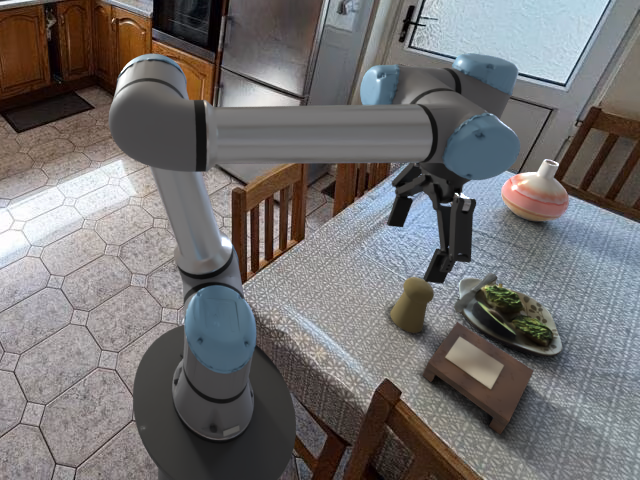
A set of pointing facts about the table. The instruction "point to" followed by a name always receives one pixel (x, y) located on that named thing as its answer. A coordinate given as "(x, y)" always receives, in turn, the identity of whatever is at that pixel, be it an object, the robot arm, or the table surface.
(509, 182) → the vase
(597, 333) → the table surface
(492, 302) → the salad plate
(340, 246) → the table surface
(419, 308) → the cork
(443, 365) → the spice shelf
